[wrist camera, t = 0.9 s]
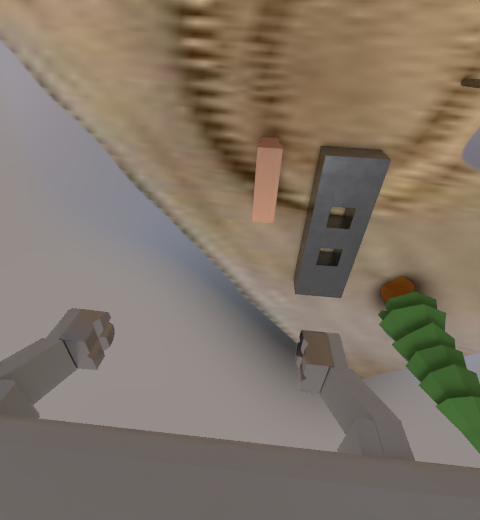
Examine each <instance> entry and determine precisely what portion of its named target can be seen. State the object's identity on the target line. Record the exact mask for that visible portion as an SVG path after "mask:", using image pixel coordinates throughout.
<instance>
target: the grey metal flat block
mask: <svg viewBox="0 0 480 520" xmlns="http://www.w3.org/2000/svg"><path fill="white" fill-rule="evenodd" d="M390 161H391V159H390V158H389V157H388V156H387V155H386V154H385V153H383V152H382V151H381V150H371V149H356V148H340V147H325V146H321V149H320V154H319V159H318V163H317V168H316V173H315V178H314V183H313V188H312V193H311V197H310V202H309V207H308V212H307V217H306V222H305V226H304V231H303V236H302V241H301V246H300V251H299V255H298V260H297V265H296V270H295V275H294V288H295V294H301V295H312V296H324V297H335V298H341V297H342V294H343V291H344V288H345V286H346V283H347V280H348V277H349V274H350V272H351V269H352V266H353V263H354V261H355V258H356V255H357V252H358V250H359V247H360V244H361V241H362V239H363V236H364V233H365V230H366V228H367V225H368V222H369V219H370V217H371V214H372V211H373V208H374V206H375V203H376V200H377V197H378V195H379V192H380V189H381V186H382V184H383V181H384V178H385V175H386V172H387V170H388V167H389V164H390ZM331 206H333V207H346V210H345V214H344V216H336V215H329V214H330V210H331ZM320 248H331V249H334V251H333V252H324V251H320Z"/></svg>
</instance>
